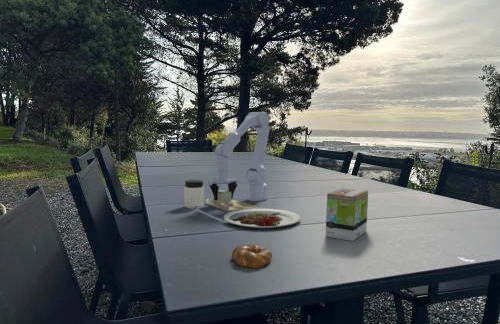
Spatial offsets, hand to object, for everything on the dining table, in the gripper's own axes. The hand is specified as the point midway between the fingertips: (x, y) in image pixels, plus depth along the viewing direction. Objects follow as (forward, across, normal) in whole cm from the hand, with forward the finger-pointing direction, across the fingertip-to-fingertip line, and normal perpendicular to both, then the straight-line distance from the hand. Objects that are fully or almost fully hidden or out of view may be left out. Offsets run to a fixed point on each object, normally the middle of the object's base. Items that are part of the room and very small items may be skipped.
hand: (223, 199), depth 172 cm
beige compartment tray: (+3, +2, -4) cm, 5 cm away
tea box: (+3, +14, -63) cm, 65 cm away
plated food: (+4, 0, -32) cm, 32 cm away
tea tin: (+2, 0, 0) cm, 2 cm away
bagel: (+4, -28, -68) cm, 74 cm away
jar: (+3, -12, +6) cm, 14 cm away
